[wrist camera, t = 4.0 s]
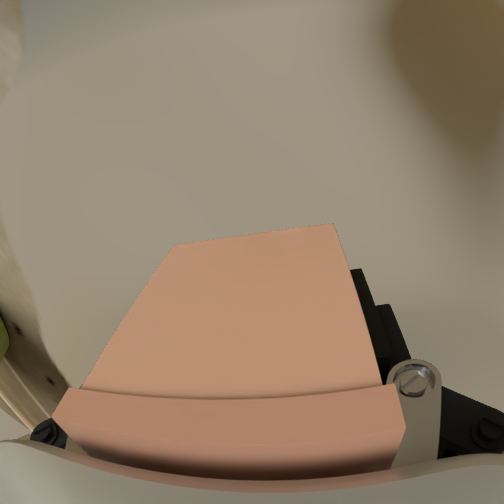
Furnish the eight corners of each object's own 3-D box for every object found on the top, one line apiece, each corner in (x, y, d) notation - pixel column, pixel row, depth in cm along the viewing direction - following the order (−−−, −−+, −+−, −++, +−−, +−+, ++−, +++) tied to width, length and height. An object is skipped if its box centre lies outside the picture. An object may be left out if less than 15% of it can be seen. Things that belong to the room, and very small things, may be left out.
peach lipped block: (337, 218, 10) (406, 427, 3) (344, 349, 12) (364, 521, 6) (169, 241, 11) (51, 416, 4) (210, 359, 13) (168, 518, 7)
